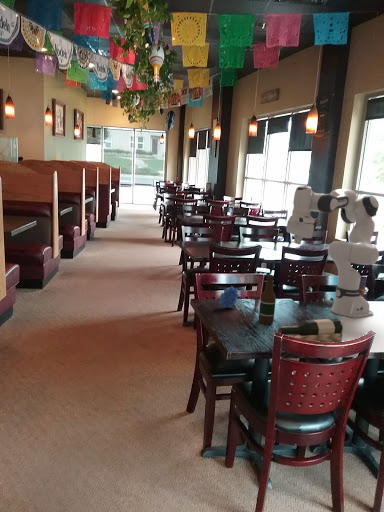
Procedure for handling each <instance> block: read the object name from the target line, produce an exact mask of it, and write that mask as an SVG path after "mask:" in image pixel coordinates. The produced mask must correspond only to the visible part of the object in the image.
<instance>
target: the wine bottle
mask: <svg viewBox="0 0 384 512" xmlns="http://www.w3.org/2000/svg"><path fill="white" fill-rule="evenodd" d="M294 326H295V327H284V326H280V327H279V328H278V329H277V332H278V334H279V333H281V334H284V335H292V334H299V335H300V336H306V335H321V334H336V333H341V334H343V330H344V329H343V323H342V322H341V320H339V319H337V318H323V319H321V318H320V319H306V320H304V321H302V322H300V324H298V325H294ZM281 334H280V335H281Z"/></svg>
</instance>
